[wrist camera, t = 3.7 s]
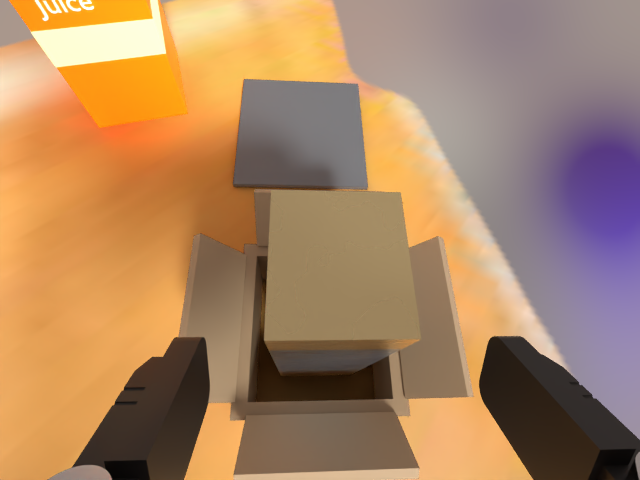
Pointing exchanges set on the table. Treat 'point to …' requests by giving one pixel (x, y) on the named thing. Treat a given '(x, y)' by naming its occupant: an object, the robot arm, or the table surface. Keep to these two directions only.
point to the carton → (331, 415)
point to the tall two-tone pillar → (337, 281)
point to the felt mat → (300, 136)
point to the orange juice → (111, 55)
